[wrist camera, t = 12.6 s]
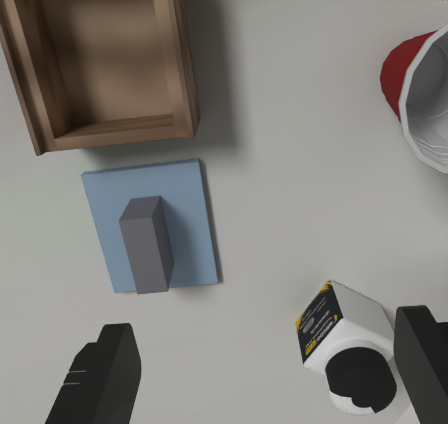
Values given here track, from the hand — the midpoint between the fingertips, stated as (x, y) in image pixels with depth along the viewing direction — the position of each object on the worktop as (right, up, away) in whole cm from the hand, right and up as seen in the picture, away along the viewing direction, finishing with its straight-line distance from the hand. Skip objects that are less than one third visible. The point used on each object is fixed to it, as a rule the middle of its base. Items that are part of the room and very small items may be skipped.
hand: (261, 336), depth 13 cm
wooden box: (-11, +18, +25) cm, 32 cm away
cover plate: (-8, +2, +33) cm, 34 cm away
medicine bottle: (+12, -8, +37) cm, 39 cm away
